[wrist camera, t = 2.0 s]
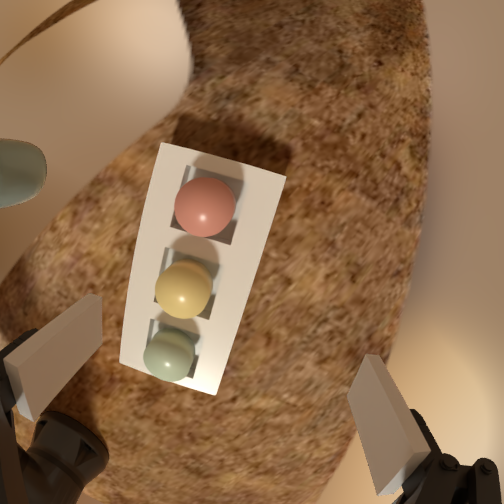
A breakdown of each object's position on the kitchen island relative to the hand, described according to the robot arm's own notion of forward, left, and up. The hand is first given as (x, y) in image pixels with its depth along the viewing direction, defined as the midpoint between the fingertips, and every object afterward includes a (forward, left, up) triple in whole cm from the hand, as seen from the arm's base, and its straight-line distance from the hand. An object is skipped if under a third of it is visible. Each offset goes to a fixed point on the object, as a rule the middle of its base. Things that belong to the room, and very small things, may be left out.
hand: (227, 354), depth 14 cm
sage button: (-5, -12, -16) cm, 20 cm away
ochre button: (-5, -4, -16) cm, 17 cm away
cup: (-29, +2, -19) cm, 34 cm away
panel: (-5, -4, -18) cm, 19 cm away
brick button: (-5, +4, -16) cm, 17 cm away
